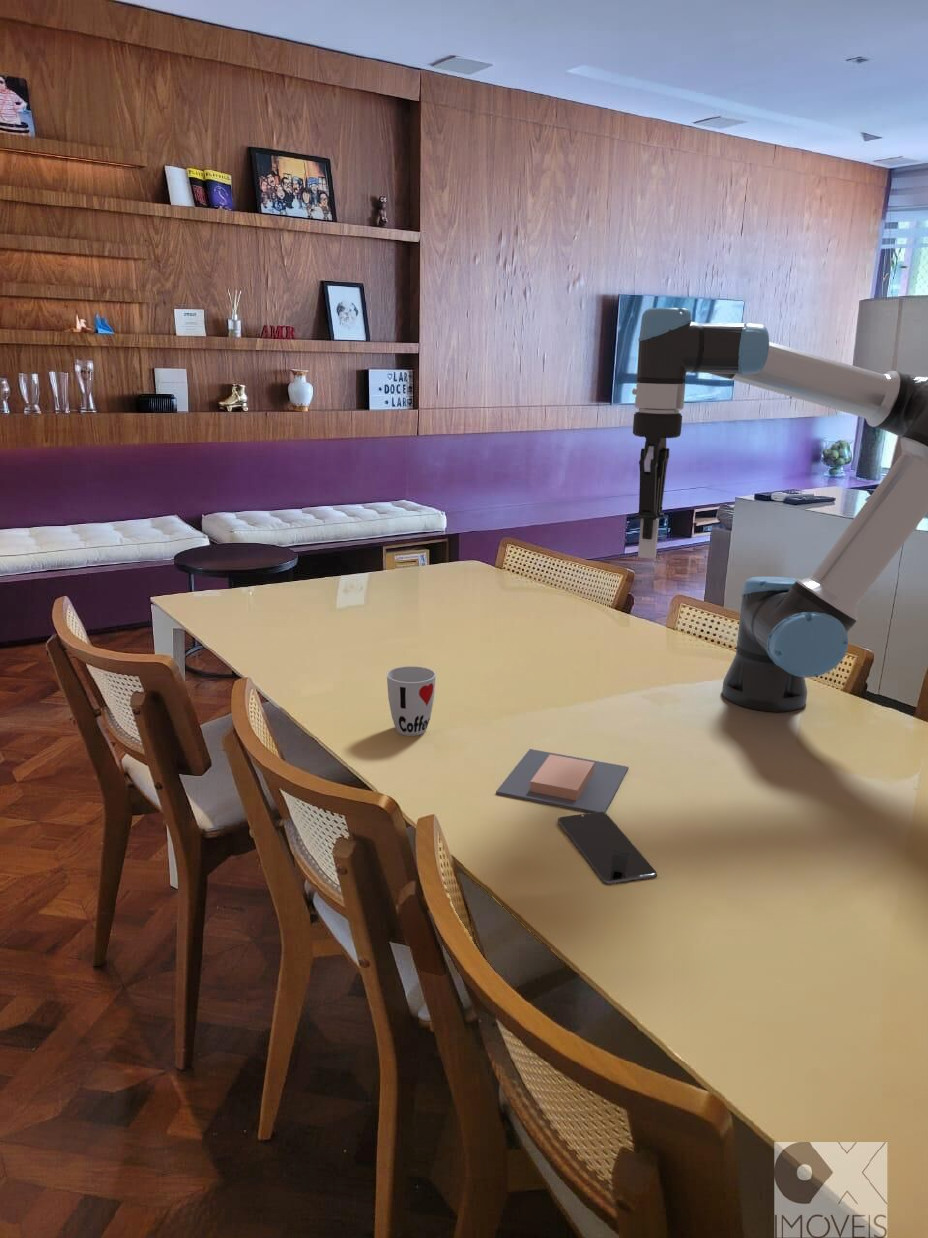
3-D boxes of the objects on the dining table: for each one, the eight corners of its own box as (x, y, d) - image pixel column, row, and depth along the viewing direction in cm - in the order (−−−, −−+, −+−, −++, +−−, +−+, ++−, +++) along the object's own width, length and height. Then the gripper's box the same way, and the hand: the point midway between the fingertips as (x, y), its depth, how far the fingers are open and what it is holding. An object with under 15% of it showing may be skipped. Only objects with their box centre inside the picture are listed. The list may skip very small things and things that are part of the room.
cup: (392, 741, 149) (391, 684, 146) (383, 722, 156) (382, 667, 153) (440, 737, 151) (440, 680, 148) (428, 718, 158) (429, 664, 156)
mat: (628, 769, 141) (628, 766, 141) (604, 815, 126) (604, 813, 126) (529, 751, 146) (529, 748, 146) (495, 793, 132) (496, 791, 132)
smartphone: (605, 882, 110) (556, 816, 124) (604, 890, 110) (555, 823, 125) (660, 874, 112) (605, 810, 126) (659, 881, 112) (604, 817, 127)
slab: (594, 762, 138) (577, 790, 129) (593, 772, 139) (576, 800, 130) (550, 754, 141) (530, 781, 132) (549, 763, 141) (529, 791, 132)
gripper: (642, 408, 151) (632, 547, 157) (626, 412, 139) (615, 562, 146) (688, 409, 148) (676, 551, 155) (675, 414, 136) (662, 567, 143)
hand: (646, 557), depth 150 cm, fingers closed
